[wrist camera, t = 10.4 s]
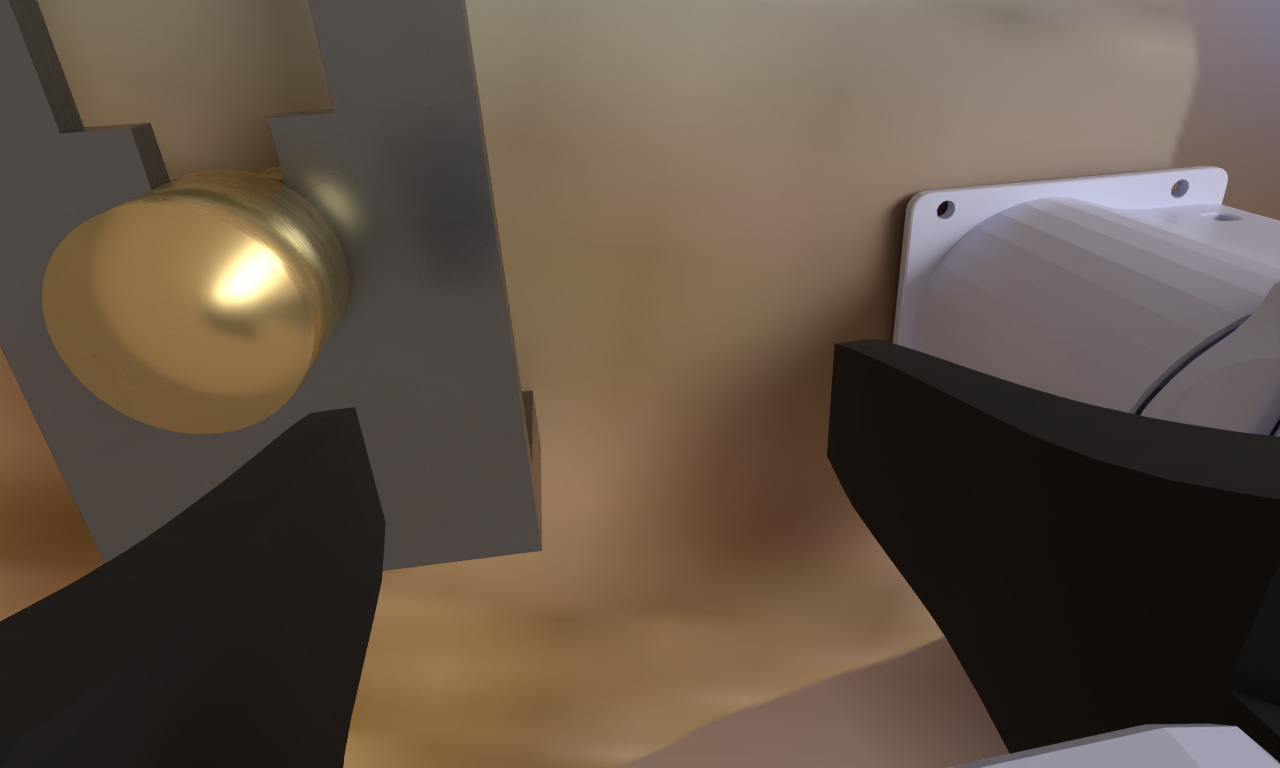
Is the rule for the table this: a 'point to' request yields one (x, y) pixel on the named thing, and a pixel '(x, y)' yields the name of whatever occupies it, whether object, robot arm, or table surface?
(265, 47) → the table surface
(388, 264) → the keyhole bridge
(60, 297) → the peg
